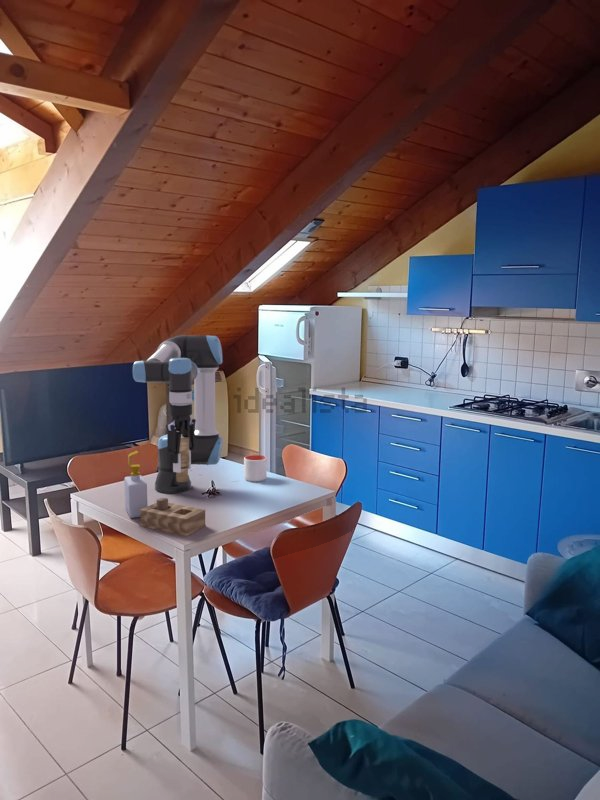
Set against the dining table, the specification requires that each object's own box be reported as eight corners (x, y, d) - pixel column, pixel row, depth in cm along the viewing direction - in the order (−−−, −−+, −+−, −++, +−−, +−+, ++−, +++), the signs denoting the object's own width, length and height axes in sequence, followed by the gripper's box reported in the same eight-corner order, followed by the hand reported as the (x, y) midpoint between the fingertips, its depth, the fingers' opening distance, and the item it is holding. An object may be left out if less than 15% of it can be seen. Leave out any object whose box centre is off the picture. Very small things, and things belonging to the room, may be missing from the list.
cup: (265, 482, 273) (265, 460, 271) (243, 482, 273) (242, 460, 271) (267, 476, 283) (267, 455, 281) (245, 476, 283) (245, 454, 281)
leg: (183, 483, 211) (183, 440, 209) (172, 481, 214) (171, 438, 211) (192, 479, 216) (191, 437, 214) (181, 477, 218) (180, 436, 216)
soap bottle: (148, 516, 229) (146, 454, 225) (129, 518, 226) (127, 456, 222) (142, 506, 240) (140, 447, 236) (125, 508, 237) (122, 448, 233)
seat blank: (140, 526, 219) (139, 501, 217) (160, 516, 229) (160, 493, 227) (186, 536, 210) (186, 510, 209) (205, 525, 220) (205, 501, 218)
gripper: (173, 408, 201) (174, 477, 205) (205, 401, 217) (206, 465, 220) (154, 406, 204) (156, 474, 208) (188, 399, 220) (189, 462, 224)
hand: (182, 469), depth 214 cm, fingers closed on leg, 5 cm apart
